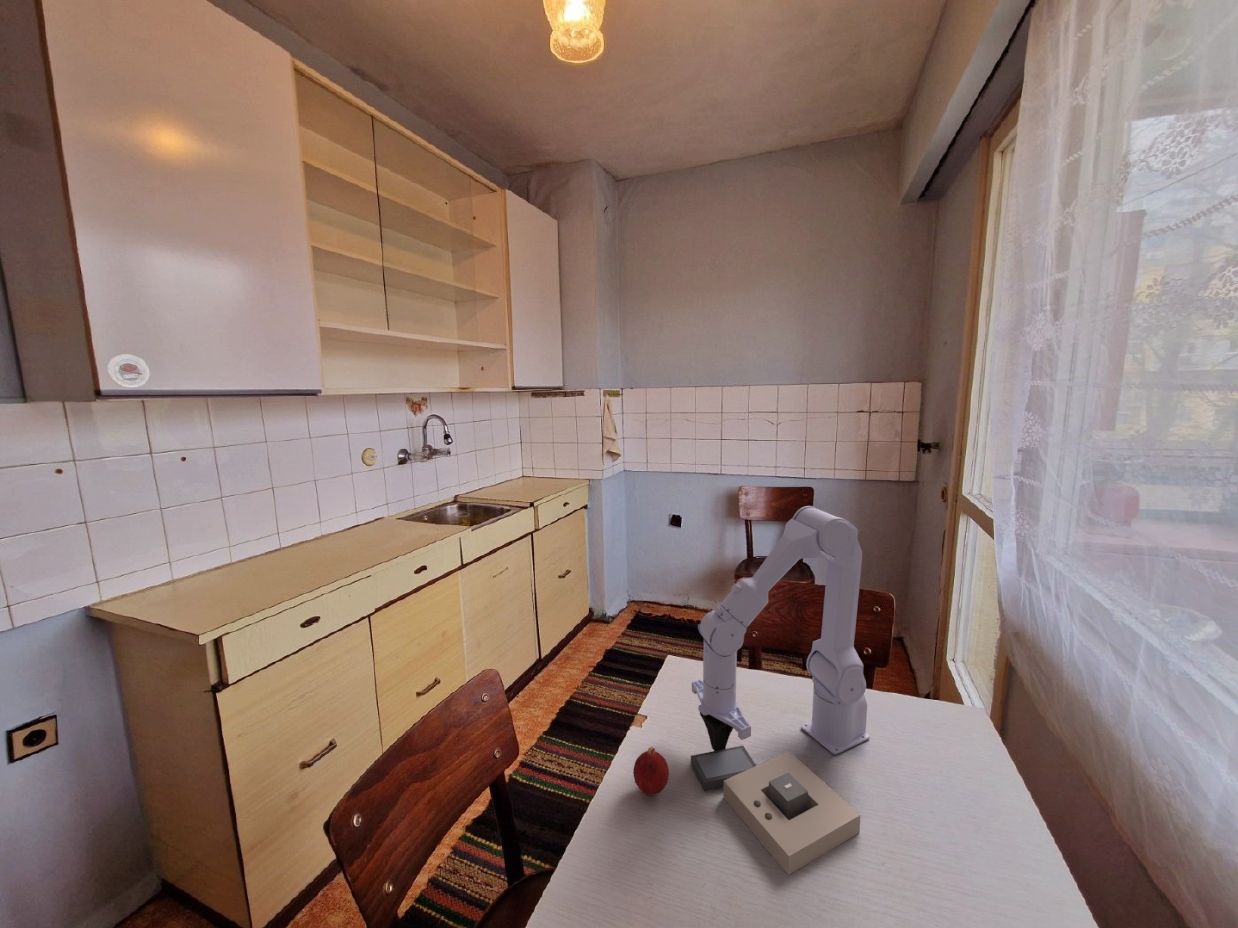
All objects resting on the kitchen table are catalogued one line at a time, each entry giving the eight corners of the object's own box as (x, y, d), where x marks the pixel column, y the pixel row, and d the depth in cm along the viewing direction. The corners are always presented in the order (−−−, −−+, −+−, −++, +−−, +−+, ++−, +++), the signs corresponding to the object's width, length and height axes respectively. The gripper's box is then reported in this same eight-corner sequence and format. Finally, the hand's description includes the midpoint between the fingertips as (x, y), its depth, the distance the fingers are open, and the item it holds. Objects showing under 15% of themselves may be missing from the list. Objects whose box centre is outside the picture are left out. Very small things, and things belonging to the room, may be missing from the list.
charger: (787, 800, 76) (788, 771, 75) (806, 820, 72) (808, 790, 71) (768, 809, 74) (768, 780, 73) (786, 830, 71) (787, 800, 70)
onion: (667, 810, 74) (666, 765, 73) (630, 804, 75) (630, 760, 74) (670, 780, 80) (670, 738, 79) (636, 776, 81) (636, 734, 80)
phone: (742, 755, 86) (743, 744, 85) (759, 781, 80) (759, 770, 80) (690, 765, 83) (690, 755, 83) (704, 793, 78) (704, 782, 77)
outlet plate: (788, 766, 82) (789, 750, 82) (859, 832, 70) (860, 813, 69) (723, 796, 77) (723, 779, 76) (788, 875, 64) (789, 855, 64)
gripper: (678, 664, 88) (678, 730, 90) (727, 710, 75) (726, 786, 77) (709, 655, 91) (708, 718, 93) (761, 698, 78) (759, 771, 80)
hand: (718, 748), depth 86 cm, fingers closed
